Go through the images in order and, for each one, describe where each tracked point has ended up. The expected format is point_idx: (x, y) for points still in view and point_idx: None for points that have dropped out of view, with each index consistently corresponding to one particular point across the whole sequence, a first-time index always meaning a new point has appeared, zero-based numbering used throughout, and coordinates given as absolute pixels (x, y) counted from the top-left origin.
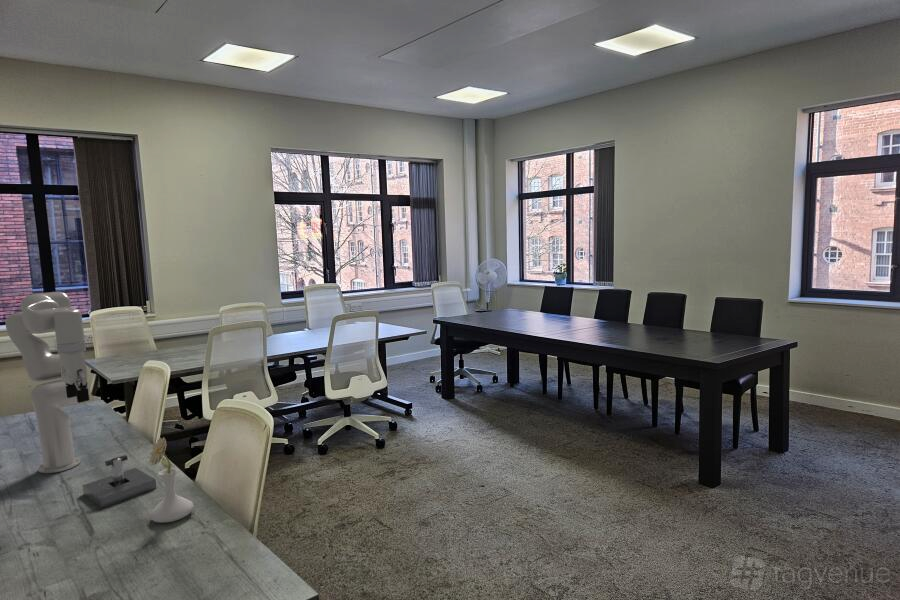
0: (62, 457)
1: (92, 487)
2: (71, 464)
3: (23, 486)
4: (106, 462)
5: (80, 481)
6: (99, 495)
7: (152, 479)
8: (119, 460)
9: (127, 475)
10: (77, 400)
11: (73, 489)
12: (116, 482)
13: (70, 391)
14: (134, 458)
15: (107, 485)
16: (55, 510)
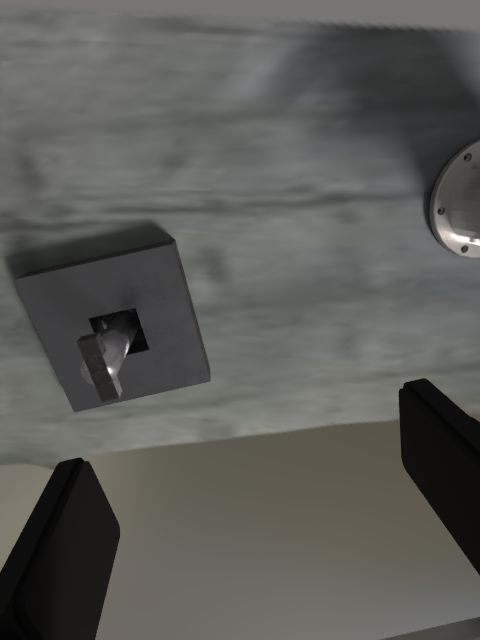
0: (470, 211)
1: (130, 268)
2: (444, 231)
3: (399, 80)
4: (79, 341)
5: (291, 241)
6: (43, 278)
7: (77, 406)
8: (85, 376)
9: (160, 358)
10: (59, 474)
11: (238, 218)
12: (105, 329)
13: (443, 457)
14: (355, 379)
15: (114, 305)
16: (97, 158)
